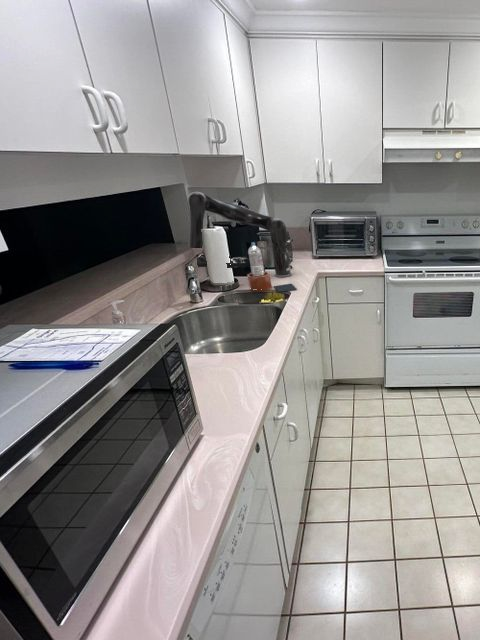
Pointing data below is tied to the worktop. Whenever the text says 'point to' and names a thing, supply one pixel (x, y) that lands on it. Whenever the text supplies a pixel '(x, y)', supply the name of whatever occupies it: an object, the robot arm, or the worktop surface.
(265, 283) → the pot
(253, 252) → the water bottle
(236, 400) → the worktop surface
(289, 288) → the dish mat
